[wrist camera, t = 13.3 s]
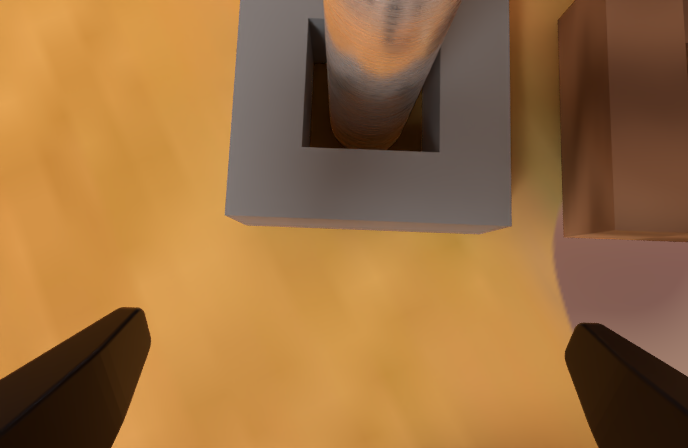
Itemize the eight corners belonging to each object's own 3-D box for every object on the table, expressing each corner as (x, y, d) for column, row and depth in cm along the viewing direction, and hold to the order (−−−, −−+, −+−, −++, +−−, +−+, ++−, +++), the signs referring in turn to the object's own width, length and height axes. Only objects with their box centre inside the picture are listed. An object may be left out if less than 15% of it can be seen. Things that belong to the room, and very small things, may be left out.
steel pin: (418, 137, 19) (634, -216, 5) (347, 169, 19) (374, -111, 5) (385, 69, 19) (502, -430, 6) (315, 100, 19) (254, -341, 5)
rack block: (479, 234, 19) (511, 226, 15) (246, 225, 18) (224, 215, 15) (479, 16, 20) (508, -37, 16) (260, 7, 20) (243, -48, 16)
